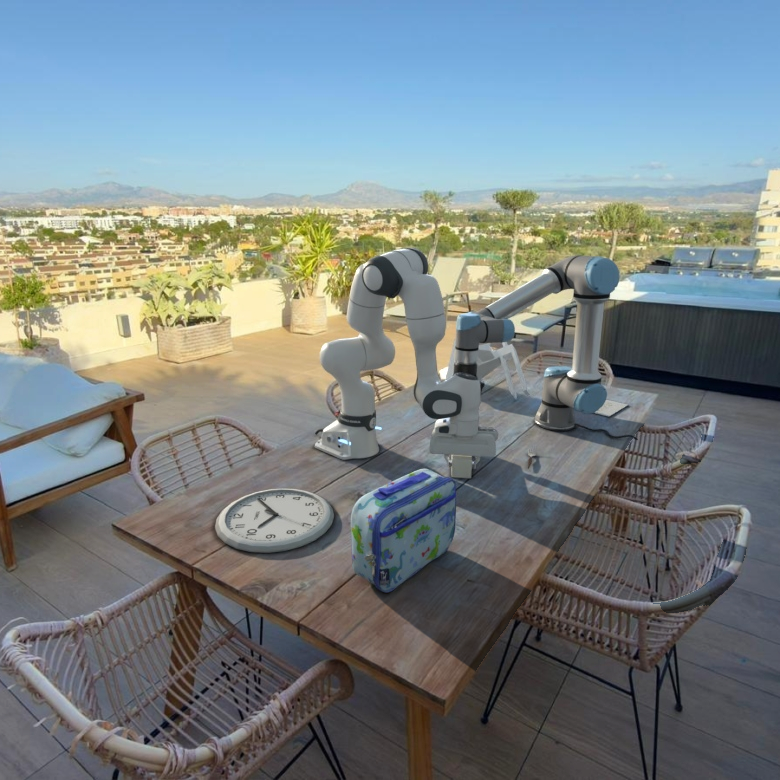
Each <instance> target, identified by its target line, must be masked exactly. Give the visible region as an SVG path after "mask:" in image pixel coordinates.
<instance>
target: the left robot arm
mask: <svg viewBox="0 0 780 780" xmlns="http://www.w3.org/2000/svg"><path fill="white" fill-rule="evenodd" d="M428 272H429V261H428V259H427V256H426V255H425V254H424V252H422V251H421V250H420V249H418V248H413V247H405V248H403V249H395V250H391V251H388V252H386V253H383V254H381V255H376V256H374V257H371V258H370V259H369V260H367V261H366V262H365V263H363V264H361V265H359V266H358V267H357V269H356V270H355V273H354V276H353V279H352V283H351V287H350V291H349V296H348V297H349V298H348V303H347V310H346V321H347V324H348V325H349V327H350V328H351V329H353V330H354V331H356V332H358V333H359V334H358V336H356V337H348V338H347V337H346V338H338V339H333V340H331V341H327V342H325V343H324V344H322V346H321V348H320V350H319V356H318V357H319V363H320V366H321V368H323V370H324V371H325V372H326V373H328V374H329V375H331V376H332V377H333V378H334V379H335V381H336V383H337V385H338V387H339V390H340V391H339V392H340V402H341V408H340V409H338V411H336V412H335V414H334V416H335V417H337V418H336V420H334V421H333V422H331V423H330V424H328V425H327V426H325V427H323V428H319V429H317V430H316V431H315V432H314V434H315V435H316V436H317V435H318V434H319V433H321V438H320V439H318V440H317V441H316V442H315V443H314V448H315V449H316V450H318V451H321V452H323V453H326V454H328V455H331V456H333V457H335V458H337V459H339V460H343V461H347V460H352V459H366V458H370V457H374V456H375V455H377V454H378V453H379V452H380V447H379V443H378V438H377V431H376V430H381V431H382V427H380V426H376V425H377V411H376V390H375V388H374V387H373V385H372V384H371V383H369V382H367V381H366V380H363V379H361V373H360V372H365V371H372V370H378V369H382V368H385V367H387V366H390V365H392V364H393V362H394V360H395V357H396V347H395V345H394V342H393V341H392V340H391V338H389V337H388V336H387V335H386V333H385V332H384V327H383V320H384V312H385V306H386V301H387V298H389V299H392V300H393V299H396V298H397V296H398V297H399V298H400V299H401V300H402V303H403V307H404V317H405V321H406V327H407V331H408V335H409V338H410V341H411V343H412V346H413V348H414V350H413V351H414V356H415V357H414V358H415V365H416V380H415V383H414V386H413V397H414V399H415V402H416V403H417V404H418V405H419V406H420V407H421V409H422V411H423V413H424V414H425V415H426V416H427V417H429V418H430V419H432V420H435V423H434V429H433V430H432V432H431V435H430V442H429V449H428V450H429V452H430V453H431V454H433V455H443V458H444V460H445V462H446V463H447V464H446V467H447V468H451V467H452V460H451V459H450V456H451V455H462V456H472V457H475V459H474V461H472V470H476V469H477V465H478V464H479V462H480V461H481V458H494V457H495V456H496V455H497V444H496V442H497V441H498V439H499V431H498V430H497V429H496V428H494V427H493V426H480V413H479V410H478V409H480V406H481V400H482V393H481V388H480V382H479V380H478V379H477V378H476V377H475V376H473V375H471V374H468V373H461V372H460V373H455V374H454V375H453V376H452V377H451V378H449V379H448V380H446V381H444V382H443V381H442V380H441V376H440V374H439V371H438V363H437V361H438V360H437V347H438V344H439V343H440V342H441V341H443V339H444V338H445V336H446V329H447V328H446V327H447V325H446V323H447V320H446V319H447V318H446V312H445V311H446V310H445V304H444V299H443V294H442V291H441V288H440V284H439V281H438V280H437V279H436V277H434V276H433V275H431V274H428Z"/></svg>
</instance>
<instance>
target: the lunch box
mask: <svg viewBox="0 0 780 780" xmlns="http://www.w3.org/2000/svg"><path fill="white" fill-rule="evenodd" d="M456 517H457V485H456V481H455V479H453V477H449V476H447V477H445V476H442V475H440V474H439V473H437V472H434V471H433V470H431V469H428V468H420V469H417V470H414V471H413V472H410V473H408V474H405V475H403V476H401V477H399V478H397V479H394V480H393V481H390V482H388V483H387V484H383V485H382V486H380V487H377V488H376V489H374V490H372V491H370V492H368V493H366V494H364V495H362V496H361V497H359V499H357V501H356V502H355V504H354V505H353V507H352V510H351V514H350V538H351V539H350V540H351V564H352V570H353V572H354V574H355V575H356V576H358V577H359V578H362V579H364V580H366V581H368V582H369V583H370V584H372V585H374V586H375V587H376V589H377V590H379V591H381V592H383V593H391V592H392V591H394V590H395V589H397V588H398V587H400V586H401V584H403V583H404V582H406V581H407V580H408V579H410V578H411V577H412V576H414V575H415V574H417V573H418V572H419V571H421V570H423V568H425V566H426V565H428V564H429V563H431V562H432V561H434V560H435V559H437V558H440V556H442V555H443V554H445V553H446V552H447V550H448V549H449V548H450V546H451V545H452V542H453V540H454V537H455V532H456V522H457V521H456V519H457V518H456Z"/></svg>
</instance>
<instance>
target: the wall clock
mask: <svg viewBox="0 0 780 780" xmlns="http://www.w3.org/2000/svg"><path fill="white" fill-rule="evenodd" d="M334 518H335V514H334V509H333V507H332V506H331V504H330V503H329V502H328V501H327V499H325V498H323V497H321V496H320V495H318V494H316V493H313V492H311V491H307V490H304V489H296V488H270V489H265V490H260V491H256V492H252V493H250V494H246V495H244V496H242V497H240V498H238V499H236V500H234V501H232V502H231V503H229V504H228V505H227V506H226V507H224V508H223V509H222V510H221V511H220V513H219V515H218V516H217V518H216V520H215V525H214V529H215V532H216V535H217V538H218V539H220V540H221V541H222V542H223V543H224V544H226V545H228V546H230V547H232V548H234V549H236V550H240V551H245V552H248V553H249V552H250V553H261V554H262V553H265V554H270V553H277V552H287V551H290V550H293V549H298V548H301V547H304V546H306V545H308V544H311V543H312V542H314V541H316V540H317V539H319V538H321V537H322V536H323V535H325V534H326V532H327V531H328V530H329V529H330V528H331V526H332V525H333V522H334Z"/></svg>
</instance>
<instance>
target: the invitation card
mask: <svg viewBox="0 0 780 780" xmlns="http://www.w3.org/2000/svg"><path fill="white" fill-rule="evenodd" d="M628 406H629V404H627V403H623V402H618V401H614V400H609V399H606V401H605V403H604V405H603V406H602V407H600V409H599V410H598V411H596V412H594V413H593V414H596V415H600V416H604V417H608V418H609V417H611V416H613V415H614V414H616V413H617V412H619V411H621V410H623V409H624V408H626V407H628Z"/></svg>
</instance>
